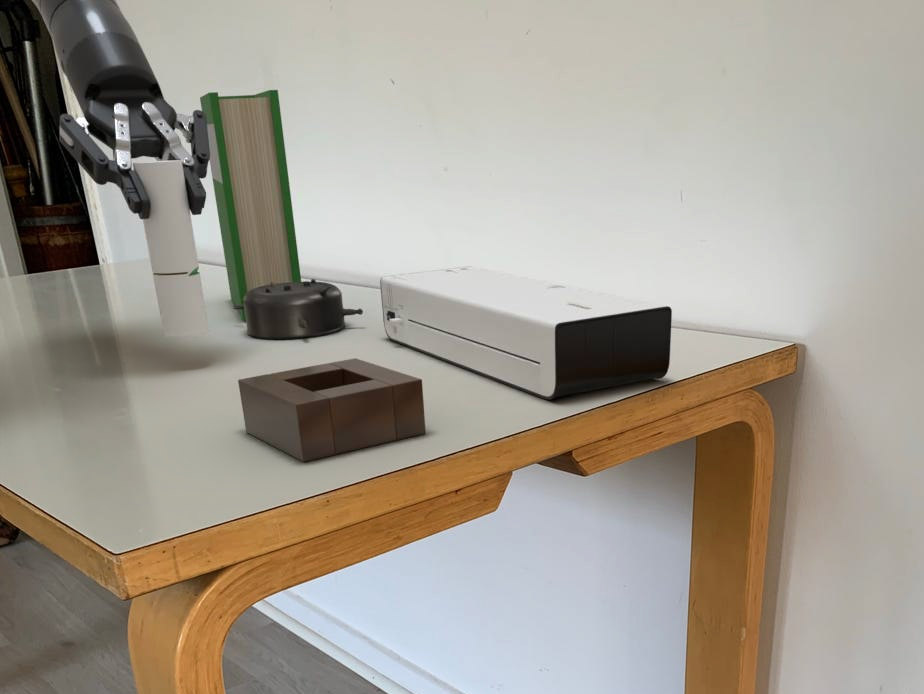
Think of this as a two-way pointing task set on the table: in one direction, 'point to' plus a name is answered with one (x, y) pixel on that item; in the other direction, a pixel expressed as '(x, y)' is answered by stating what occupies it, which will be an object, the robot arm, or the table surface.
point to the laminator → (528, 329)
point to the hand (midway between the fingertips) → (172, 209)
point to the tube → (173, 249)
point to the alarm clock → (294, 310)
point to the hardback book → (251, 191)
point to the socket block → (332, 408)
